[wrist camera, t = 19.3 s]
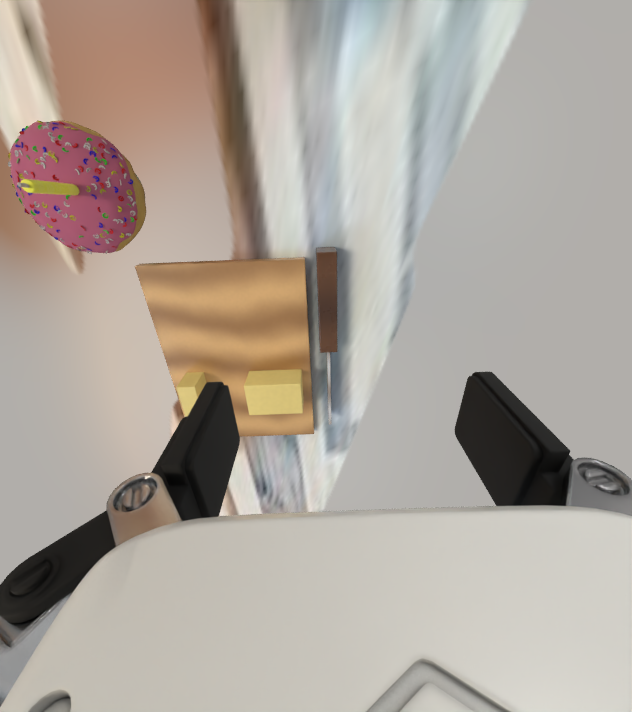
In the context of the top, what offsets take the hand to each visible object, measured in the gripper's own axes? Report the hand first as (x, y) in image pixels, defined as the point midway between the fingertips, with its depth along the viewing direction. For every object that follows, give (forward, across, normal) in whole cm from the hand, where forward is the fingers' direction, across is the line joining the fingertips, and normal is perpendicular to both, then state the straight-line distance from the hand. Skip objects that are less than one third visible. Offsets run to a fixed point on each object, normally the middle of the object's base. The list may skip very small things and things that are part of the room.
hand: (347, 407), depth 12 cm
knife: (+20, 0, +7) cm, 22 cm away
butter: (+19, +6, +12) cm, 24 cm away
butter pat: (+19, +15, +12) cm, 27 cm away
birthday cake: (+20, +18, -8) cm, 28 cm away
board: (+20, +10, +9) cm, 24 cm away
